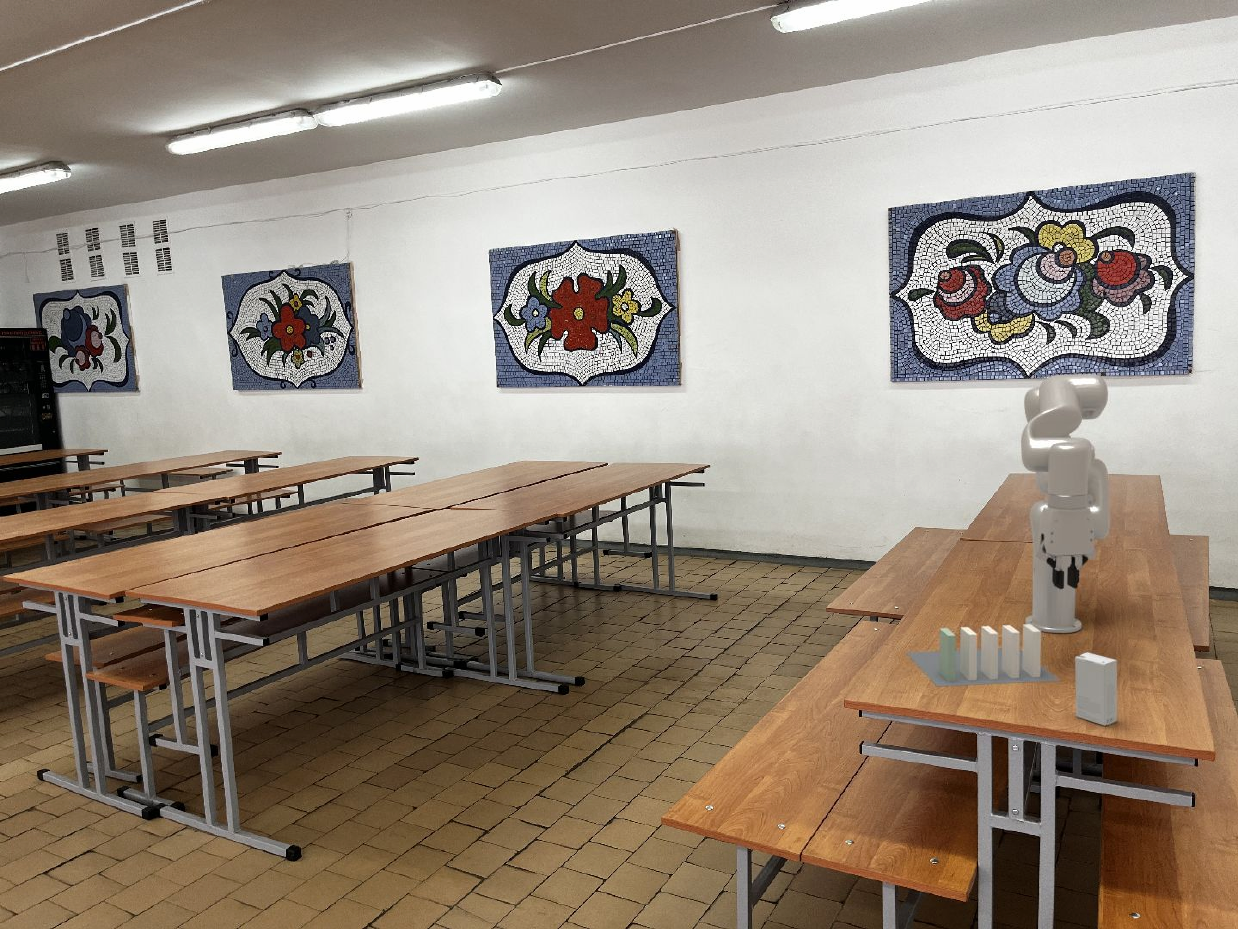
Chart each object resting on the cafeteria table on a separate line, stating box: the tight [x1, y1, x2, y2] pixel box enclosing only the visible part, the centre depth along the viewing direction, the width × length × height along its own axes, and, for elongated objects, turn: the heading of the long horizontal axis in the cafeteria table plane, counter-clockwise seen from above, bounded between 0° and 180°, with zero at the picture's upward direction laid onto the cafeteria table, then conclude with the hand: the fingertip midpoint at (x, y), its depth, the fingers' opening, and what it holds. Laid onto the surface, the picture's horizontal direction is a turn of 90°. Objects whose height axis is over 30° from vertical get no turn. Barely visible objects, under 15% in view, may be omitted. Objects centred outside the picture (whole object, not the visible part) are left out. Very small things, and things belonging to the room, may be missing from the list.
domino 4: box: [1022, 623, 1042, 677], centre depth 200 cm, size 2×5×10 cm, turn 1°
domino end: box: [939, 627, 957, 681], centre depth 200 cm, size 2×5×10 cm, turn 1°
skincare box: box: [1074, 652, 1118, 727], centre depth 176 cm, size 6×4×12 cm
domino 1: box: [960, 626, 978, 680], centre depth 200 cm, size 2×5×10 cm, turn 0°
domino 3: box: [1001, 624, 1021, 678], centre depth 200 cm, size 2×5×10 cm, turn 0°
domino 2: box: [980, 625, 999, 679], centre depth 200 cm, size 2×5×10 cm, turn 0°
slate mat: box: [905, 647, 1062, 688], centre depth 206 cm, size 26×21×1 cm
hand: (1065, 586), depth 198 cm, fingers closed
